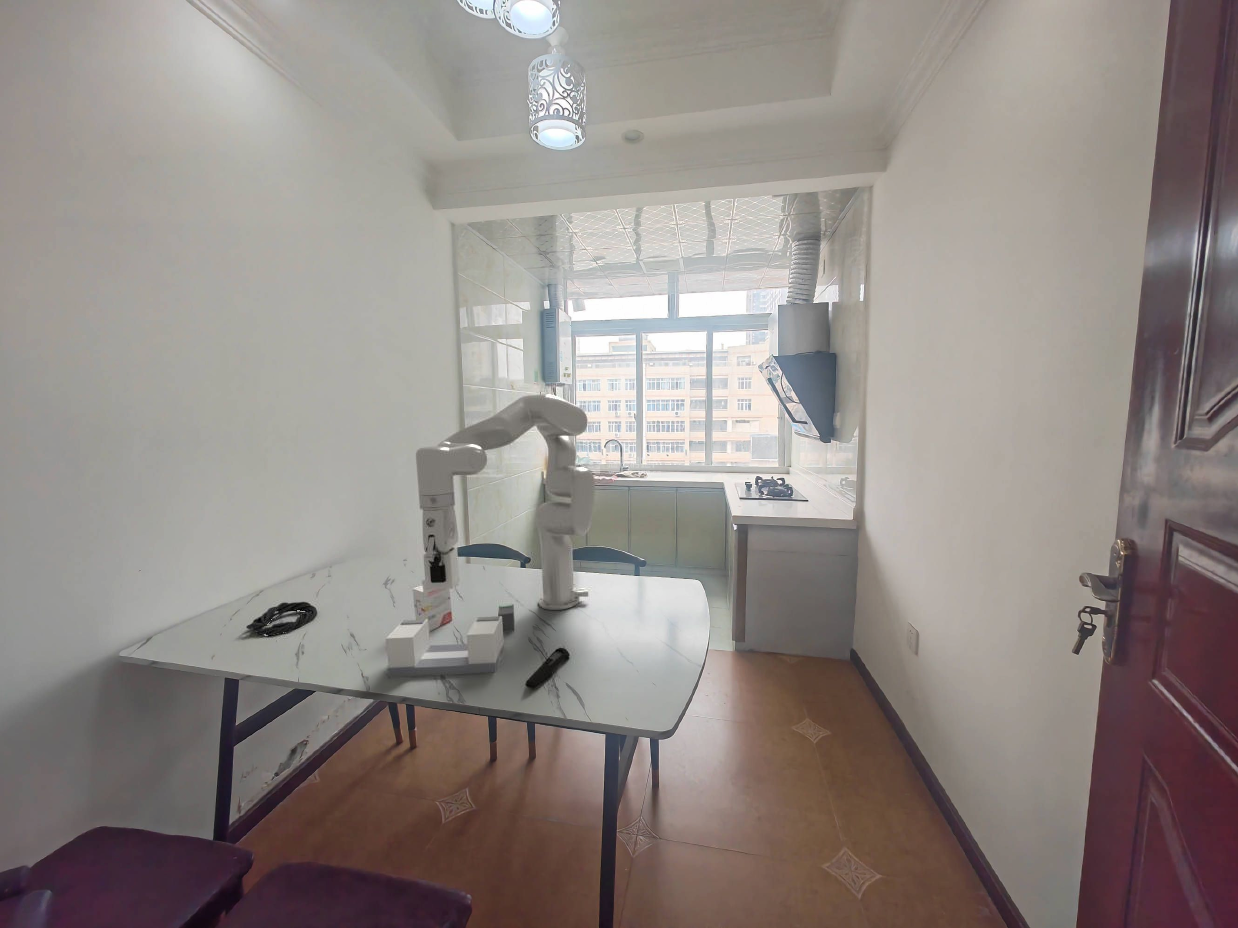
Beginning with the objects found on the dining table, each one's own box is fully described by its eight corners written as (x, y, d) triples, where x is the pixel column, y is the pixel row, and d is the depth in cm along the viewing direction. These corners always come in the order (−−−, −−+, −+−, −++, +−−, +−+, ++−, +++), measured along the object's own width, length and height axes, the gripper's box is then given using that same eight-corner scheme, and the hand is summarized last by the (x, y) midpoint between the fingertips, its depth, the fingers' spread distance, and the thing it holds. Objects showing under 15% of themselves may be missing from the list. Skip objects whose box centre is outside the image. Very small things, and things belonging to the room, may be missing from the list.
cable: (294, 609, 144) (293, 595, 143) (333, 611, 141) (331, 598, 141) (240, 635, 127) (238, 620, 127) (283, 638, 124) (281, 623, 124)
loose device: (514, 620, 131) (513, 603, 130) (514, 630, 125) (513, 611, 124) (500, 622, 130) (498, 604, 129) (499, 632, 124) (498, 613, 124)
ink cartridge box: (441, 616, 135) (438, 568, 133) (452, 620, 132) (449, 571, 130) (415, 628, 127) (411, 577, 126) (426, 633, 125) (422, 580, 123)
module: (459, 580, 110) (457, 546, 109) (452, 588, 105) (450, 553, 104) (433, 581, 109) (431, 547, 109) (425, 589, 104) (423, 554, 104)
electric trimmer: (520, 692, 98) (520, 678, 97) (557, 655, 112) (557, 642, 111) (536, 696, 96) (535, 682, 96) (571, 657, 110) (570, 645, 110)
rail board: (504, 649, 115) (502, 614, 114) (495, 672, 105) (492, 633, 104) (406, 654, 114) (403, 618, 113) (388, 677, 104) (384, 638, 103)
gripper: (440, 507, 97) (447, 591, 99) (464, 493, 113) (469, 565, 115) (404, 509, 96) (411, 592, 98) (434, 494, 113) (439, 566, 115)
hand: (442, 576), depth 107 cm, fingers closed on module, 5 cm apart
